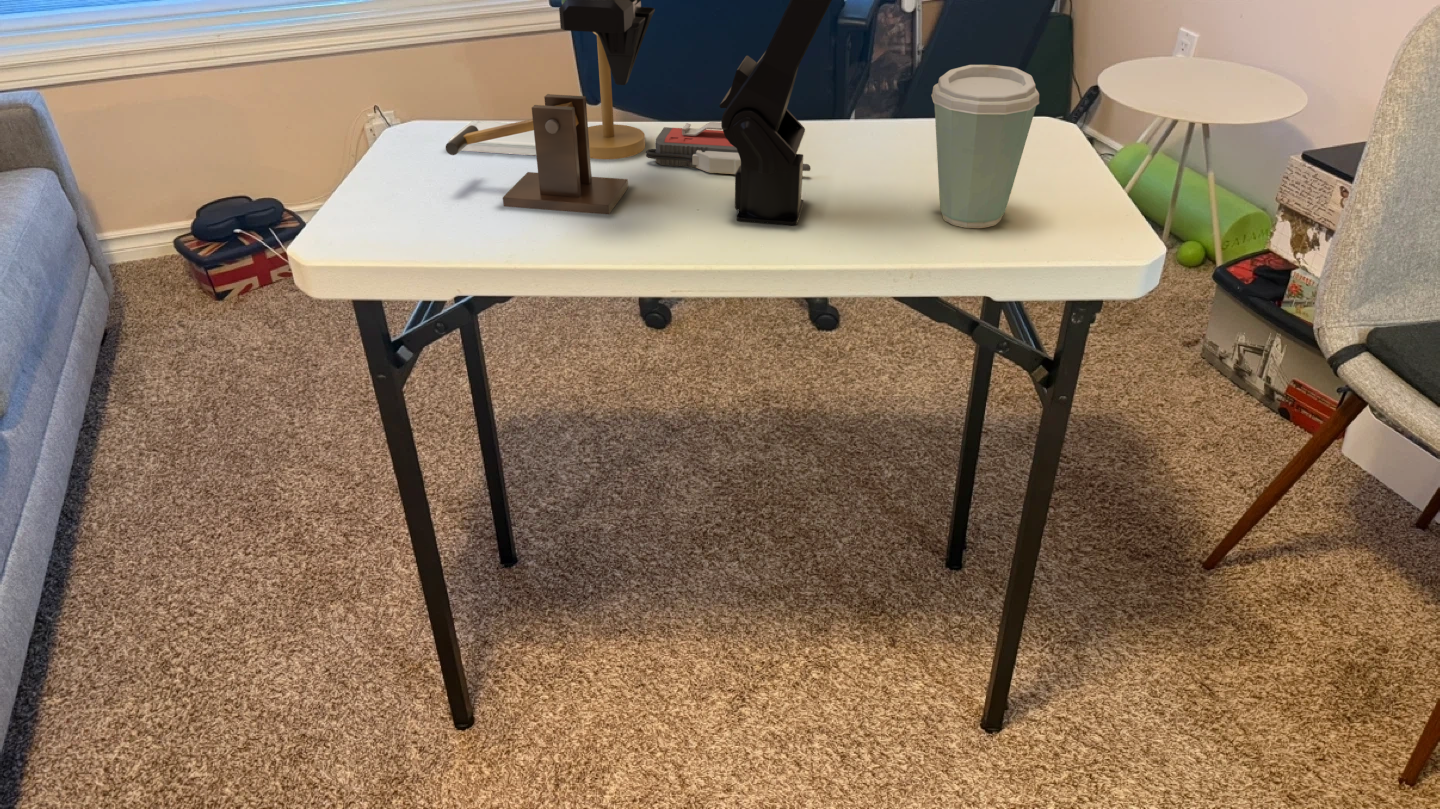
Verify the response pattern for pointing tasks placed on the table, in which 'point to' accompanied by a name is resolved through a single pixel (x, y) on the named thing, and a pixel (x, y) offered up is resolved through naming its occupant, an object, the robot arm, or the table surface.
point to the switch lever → (491, 133)
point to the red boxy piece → (698, 149)
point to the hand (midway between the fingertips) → (621, 84)
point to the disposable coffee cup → (980, 139)
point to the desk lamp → (611, 122)
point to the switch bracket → (564, 164)
